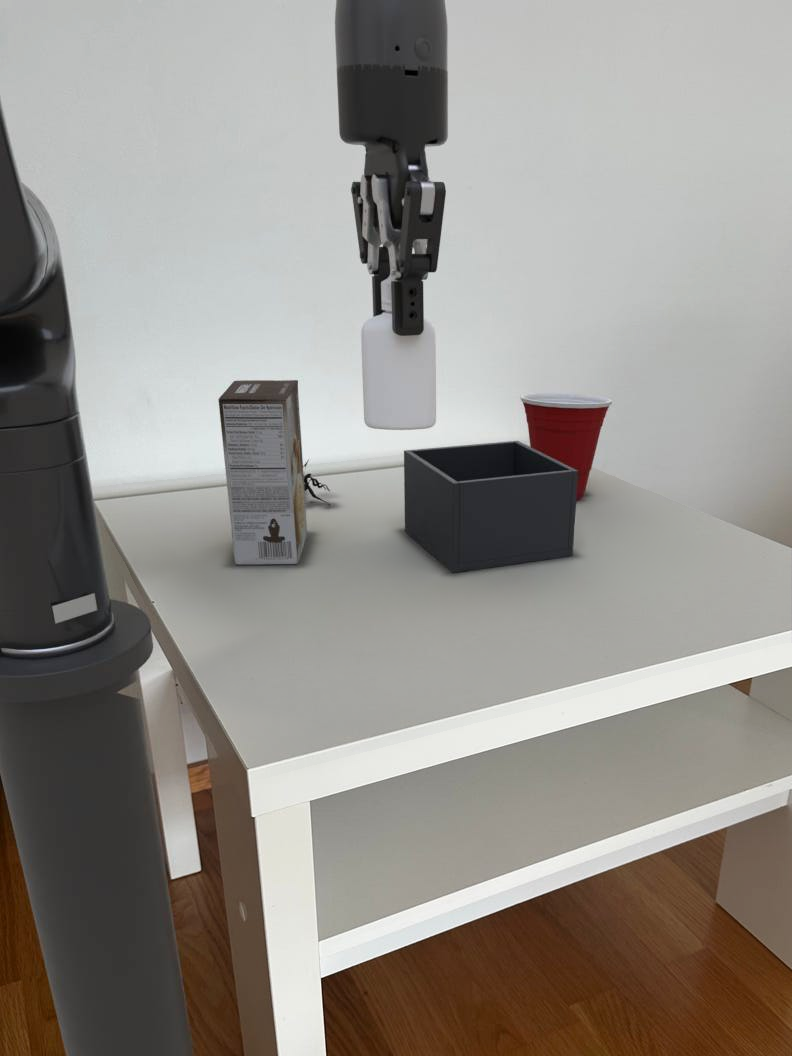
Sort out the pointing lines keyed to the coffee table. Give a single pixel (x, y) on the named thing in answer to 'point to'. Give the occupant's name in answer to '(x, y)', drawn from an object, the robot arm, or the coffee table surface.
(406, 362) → the eye dropper bottle
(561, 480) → the bin
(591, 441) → the plastic cup
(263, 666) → the coffee table surface
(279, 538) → the coffee box
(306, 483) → the creature
